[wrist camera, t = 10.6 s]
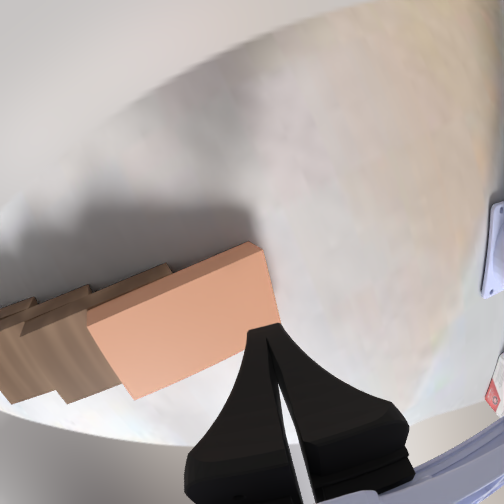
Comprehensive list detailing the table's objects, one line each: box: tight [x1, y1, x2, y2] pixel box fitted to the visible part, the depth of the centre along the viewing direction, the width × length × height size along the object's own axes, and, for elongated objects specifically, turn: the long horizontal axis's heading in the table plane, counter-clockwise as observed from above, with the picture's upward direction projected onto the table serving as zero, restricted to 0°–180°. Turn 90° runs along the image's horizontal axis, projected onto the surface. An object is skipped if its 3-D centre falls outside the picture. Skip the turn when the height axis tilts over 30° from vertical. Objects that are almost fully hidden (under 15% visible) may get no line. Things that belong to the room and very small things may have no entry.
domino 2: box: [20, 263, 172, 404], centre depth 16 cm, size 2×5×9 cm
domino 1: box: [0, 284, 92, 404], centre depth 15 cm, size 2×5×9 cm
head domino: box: [87, 241, 281, 400], centre depth 16 cm, size 2×5×9 cm
